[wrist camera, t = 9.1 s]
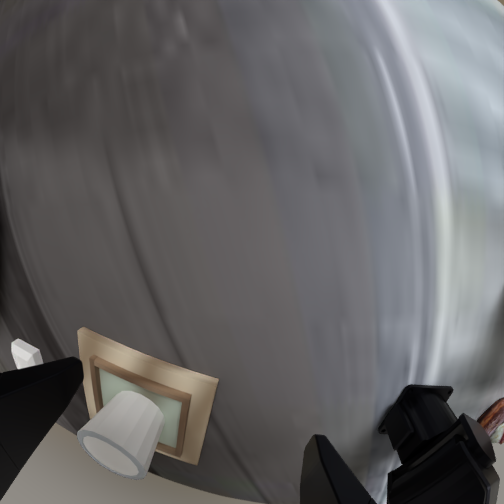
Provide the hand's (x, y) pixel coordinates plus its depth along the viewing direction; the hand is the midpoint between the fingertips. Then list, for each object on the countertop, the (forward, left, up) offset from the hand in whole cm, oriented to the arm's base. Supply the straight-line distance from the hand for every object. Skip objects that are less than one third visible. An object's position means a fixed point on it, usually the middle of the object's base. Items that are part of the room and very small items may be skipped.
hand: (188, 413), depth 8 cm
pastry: (-37, +11, -12) cm, 41 cm away
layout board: (+7, +15, -12) cm, 20 cm away
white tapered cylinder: (+7, +15, -11) cm, 20 cm away
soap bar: (+24, +20, -13) cm, 34 cm away
